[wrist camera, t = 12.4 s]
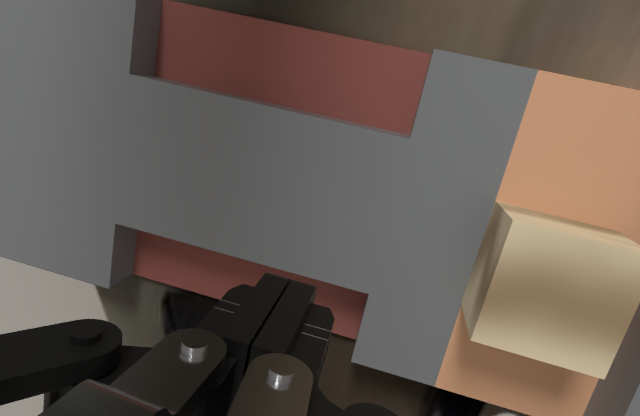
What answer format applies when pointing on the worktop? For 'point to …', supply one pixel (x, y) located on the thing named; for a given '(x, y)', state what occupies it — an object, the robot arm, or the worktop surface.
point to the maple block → (552, 289)
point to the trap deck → (307, 175)
